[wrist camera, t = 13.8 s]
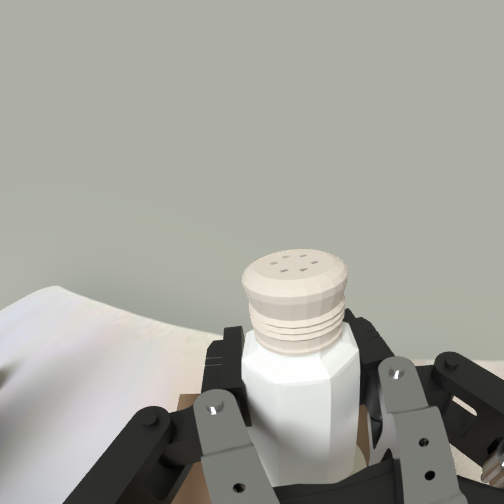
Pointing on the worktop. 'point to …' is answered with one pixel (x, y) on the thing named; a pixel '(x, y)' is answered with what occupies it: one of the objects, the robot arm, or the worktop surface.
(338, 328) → the pepper shaker
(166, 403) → the worktop surface
